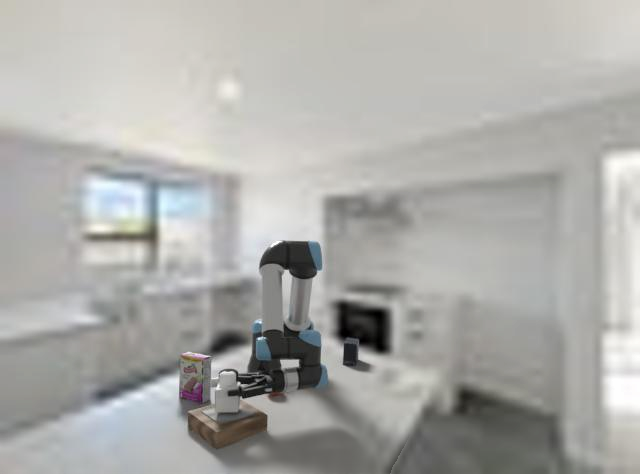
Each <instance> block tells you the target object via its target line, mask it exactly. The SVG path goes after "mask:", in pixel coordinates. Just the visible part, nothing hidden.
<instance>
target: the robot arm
mask: <svg viewBox="0 0 640 474" xmlns="http://www.w3.org/2000/svg"><path fill="white" fill-rule="evenodd" d="M322 254H323V253H322V247H321V244H320V243H319V242H318V241H311V240H283V239H282V240H277V241H275V242H273V243H272V244H270V245H269V246H268V247H267V248H266V249H265V250H264V252H263V254H262V256H261V257H260V261H259V265H258V266H259V267H258V273H259V275H260V276H261V317H260V318H257V319H256V320H254V322H253V323H252V330H251V333H252V337H251V355H250V357H249V361H248V364H247V369H246V370H247V372H238V382H241V386H240V385H239V388H238V387H230V388H221V389H216V388H217V385H218V383H219V377H212V378H211V388H215V390H216V399H219V398H227V397H235V396H239V397H240V398H241V400H242V399H243V400H245V399H249V398H253V397H258V396H263V395H272V394H271V393H279V394H280V393H283V392H286V393H287V392H288V393H292V391H300V390H301V391H302V390H310V389H312V390H313V389H319V388H322V387H324V386H326V385H327V383H328V380H329V374H328V368H327V367H326V365H325V364H323V363H322V362H321V361H322V346H323V345H322V334H321V333H320V331H319V330H315V327H314V322H313V321H312V320H311V318H310V316H309V312H310V305H311V296H312V287H313V281H314V280H313V279H314V278H316V277H317V274H318V272H319V271H322V270H323V255H322ZM285 271H288V273H289V275H291V283H290V294H289V295H290V297H289V304H288V305H289V308H288V314H287V315H286V316H285V317H284V307H283V306H284V305H283V304H284V303H283V301H284V298H283V275H284V274H285ZM284 360H285V361H286V360H287V361H288V360H289V361H292V360H293V361H294V360H295V361H297V360H298V366H291V367H282V363H281V361H284ZM242 385H243V386H242Z"/></svg>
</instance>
